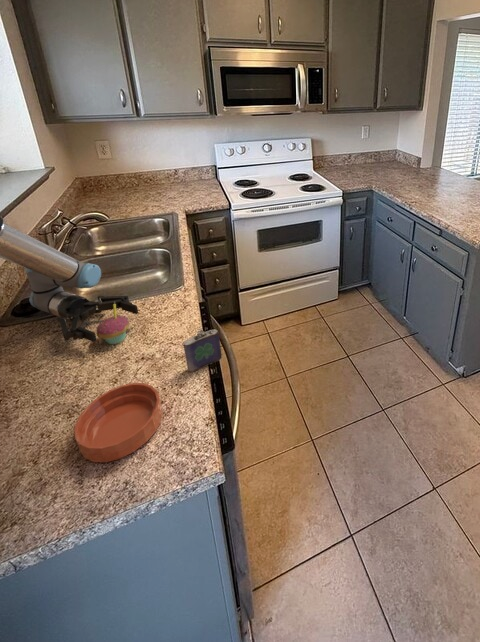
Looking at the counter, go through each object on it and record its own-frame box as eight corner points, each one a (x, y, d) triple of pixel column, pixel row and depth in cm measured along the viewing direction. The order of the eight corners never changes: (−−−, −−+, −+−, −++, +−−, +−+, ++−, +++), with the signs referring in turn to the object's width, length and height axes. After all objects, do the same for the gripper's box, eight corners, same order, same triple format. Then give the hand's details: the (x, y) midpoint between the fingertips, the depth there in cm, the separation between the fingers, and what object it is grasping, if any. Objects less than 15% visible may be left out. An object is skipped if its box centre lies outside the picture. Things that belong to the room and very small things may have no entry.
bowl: (67, 474, 70) (61, 458, 68) (93, 406, 84) (89, 392, 83) (156, 451, 74) (152, 435, 72) (166, 390, 89) (163, 376, 87)
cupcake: (120, 327, 112) (112, 294, 108) (138, 334, 109) (130, 301, 105) (93, 344, 105) (83, 309, 101) (112, 353, 101) (102, 317, 97)
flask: (189, 374, 93) (183, 340, 90) (186, 367, 96) (180, 334, 92) (223, 358, 98) (218, 326, 95) (219, 352, 101) (215, 321, 97)
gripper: (109, 296, 124) (153, 310, 116) (29, 341, 103) (77, 362, 94) (104, 277, 122) (149, 290, 113) (21, 319, 100) (69, 339, 92)
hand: (116, 322), depth 104 cm, fingers open, 13 cm apart
